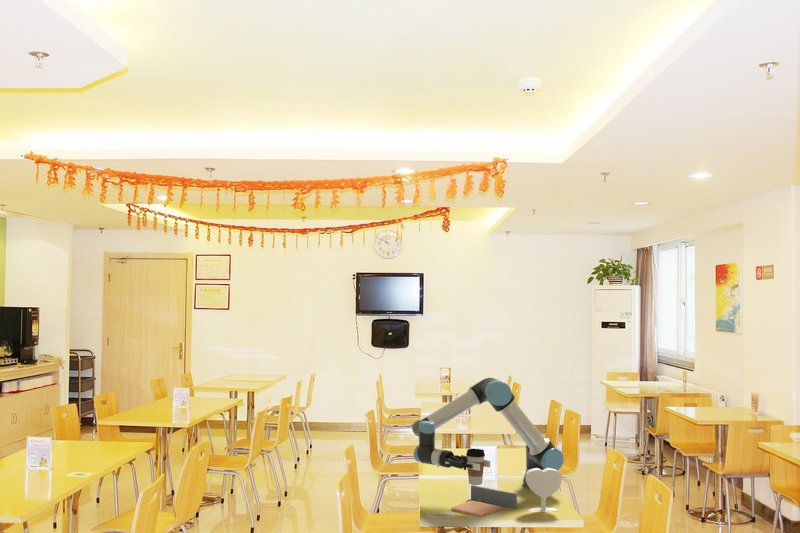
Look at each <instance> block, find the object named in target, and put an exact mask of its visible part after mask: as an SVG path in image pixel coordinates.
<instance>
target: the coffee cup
mask: <svg viewBox="0 0 800 533" xmlns="http://www.w3.org/2000/svg"><path fill="white" fill-rule="evenodd" d="M485 455H486V454H485V450H484V449H481V448H468V449H467V450H466V455H465V456H467V462H471V463H477V464H480V471H478V470H473V469H467V476H468V477H467V478H468V484H469V485H470V486H471V485H475V486H481V485H482V484H483V478H484V477H483V476H484V460H485Z"/></svg>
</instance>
